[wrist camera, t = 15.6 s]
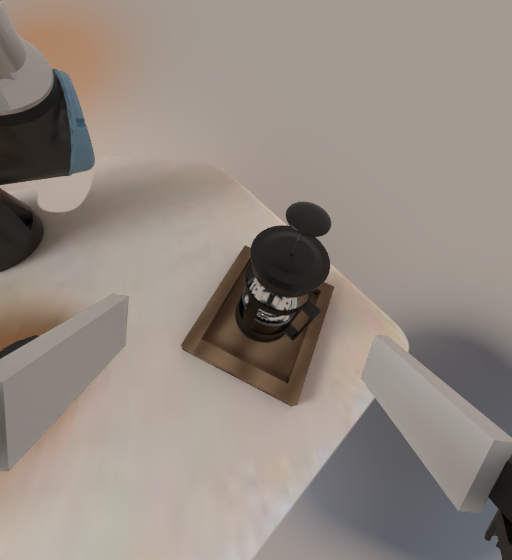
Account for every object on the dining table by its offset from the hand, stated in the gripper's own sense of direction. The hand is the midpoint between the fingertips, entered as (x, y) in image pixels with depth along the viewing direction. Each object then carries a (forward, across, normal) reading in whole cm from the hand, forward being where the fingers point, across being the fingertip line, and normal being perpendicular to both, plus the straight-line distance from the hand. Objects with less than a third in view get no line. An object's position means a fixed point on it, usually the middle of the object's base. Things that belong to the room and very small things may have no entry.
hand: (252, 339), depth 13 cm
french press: (+27, +5, -9) cm, 29 cm away
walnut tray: (+27, +5, -10) cm, 29 cm away
